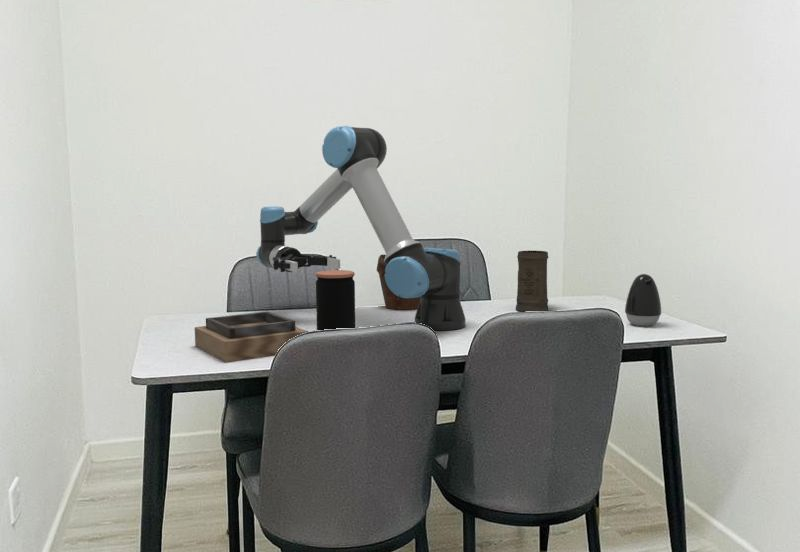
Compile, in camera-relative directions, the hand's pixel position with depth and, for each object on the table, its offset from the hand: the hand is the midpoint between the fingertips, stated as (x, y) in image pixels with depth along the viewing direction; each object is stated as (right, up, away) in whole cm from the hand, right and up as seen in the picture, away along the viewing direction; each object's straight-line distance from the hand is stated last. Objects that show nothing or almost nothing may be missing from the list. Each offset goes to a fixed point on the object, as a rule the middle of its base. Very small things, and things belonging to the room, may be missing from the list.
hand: (318, 265), depth 216 cm
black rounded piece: (+95, -18, +8) cm, 97 cm away
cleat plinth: (-15, -22, -19) cm, 33 cm away
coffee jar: (+6, -20, -6) cm, 22 cm away
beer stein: (+67, -14, +37) cm, 78 cm away
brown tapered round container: (+25, -14, +43) cm, 51 cm away
